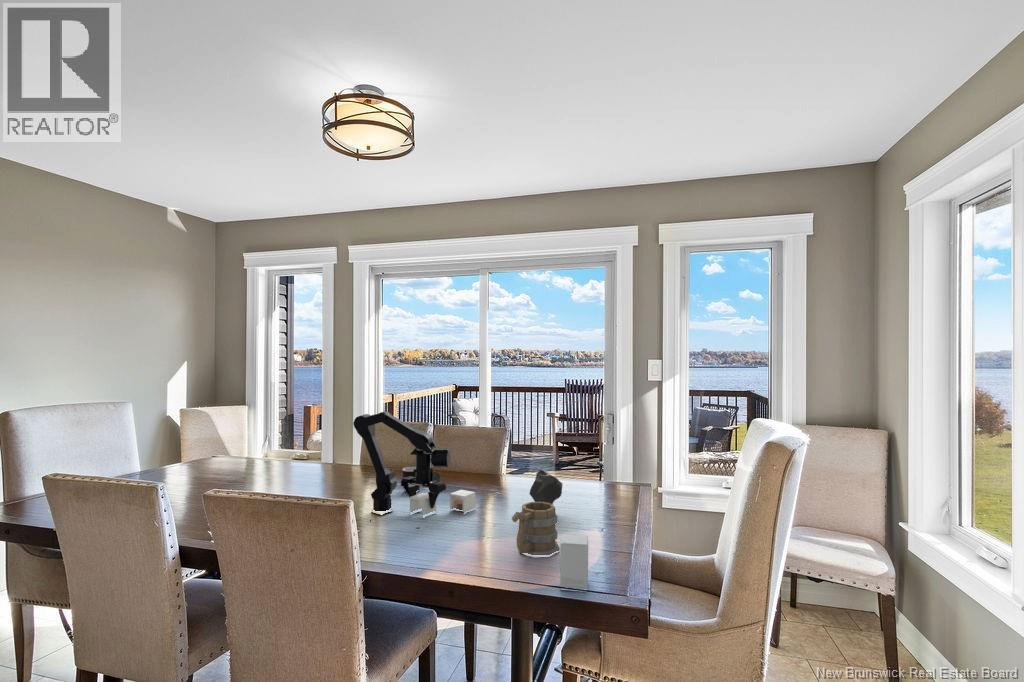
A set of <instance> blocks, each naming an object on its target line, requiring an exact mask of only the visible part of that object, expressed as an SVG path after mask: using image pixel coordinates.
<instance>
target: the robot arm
mask: <svg viewBox="0 0 1024 682" xmlns="http://www.w3.org/2000/svg"><path fill="white" fill-rule="evenodd" d="M381 423H382V424H384V425H385V426H387V427H389V428H390V429H392V430H393V431H395V432H397V433H398V434H401V436H404V438H406V439H407V440H408V441H409V442H410V444H411V445H412V446H414V447H415V448H414V449H413V450H412V451H411V452H410V455H414V456H415V467H416V469H414V472H416V477H412V476H409V477H406V478H403V477H402V478H401V480H400V487H402V488H403V489H404V491H405V490H406V492H407V493H406V494H407V496H408V497H409V498H410V497H411V496H414V495H417V493H416V489H417V487H418V486H420V487H423V488H424V487H425V488H427V489H428V491H427V494H428V495H429V502H430V507H431V509H432V508H434V505H435V502H436V503H437V499H438V497H439V494H441V493H442V492H443V491H445V490H447V483H446V482H444V481H441V476H442V473H440V472H437V471H434V468H433V467H436V468H438V467H440V468H441V467H442V468H449V467H450V465H451V460H452V456H451V454H450V449H449V448H438V446H437V445H436V444H435V442H434V441H433V436H432V434H430V433H428V432H427V431H424V430H420V429H417V428H414V427H412V426H411V425H409V424H407V423H406V422H404V421H403V420H400V419H399V418H397V417H396V416H394V415H392V414H391V413H390V412H388V411H386V410H385V411H380V412H378V413H376V414H369V413H365V414H361V415H359V416H356V417H355V418H354V420H353V423H352V424H353V427H354V429H355V430H356V433H357V434H358V435H359V437H361V438H362V440H363V442H364V444H365V447H366V450H367V452H368V455H369V457H370V462H371V463H372V466H373V469H374V472H375V485H376V489H374V491H372V493H371V494H370V496H371V499H372V501H373V502H372V503H373V505H372V506H373V509H372V511H373V510H375V511H386V510H389V509H390V508H391V509H392V495H391V494H393V491H395V489H396V488H397V486H398V482H397V481H398V478H397V476H396V473H395V470H392V471H391V470H390V469H389V468H388V467H387V464H386V461H385V458H384V456H383V453H382V450H381V447H380V445H379V443H378V440H377V437H376V425H377V424H381ZM432 466H433V467H432Z"/></svg>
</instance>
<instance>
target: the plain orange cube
mask: <svg viewBox="0 0 1024 682" xmlns="http://www.w3.org/2000/svg"><path fill="white" fill-rule="evenodd" d="M456 509H459V510H463V499H460V500H457V501H456Z"/></svg>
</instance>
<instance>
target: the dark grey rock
mask: <svg viewBox="0 0 1024 682" xmlns="http://www.w3.org/2000/svg"><path fill="white" fill-rule="evenodd" d="M562 490H563V482H561V481H560V480H559V479H558V477H556V476H553V475H551V474H550V473H549V472H548V471H547V470H546V469H544V468H541V469H539V471H538V472H536V475H535V479H534V482H533V484H532V485H531V487H530V490H529V496H530V497H531V498H532V499H533V502H546V503H550V504H553V505H554V502H555V501H556V500H559V498H561V496H562V492H563V491H562Z"/></svg>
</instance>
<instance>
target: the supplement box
mask: <svg viewBox="0 0 1024 682" xmlns="http://www.w3.org/2000/svg"><path fill="white" fill-rule="evenodd" d="M560 540H561V541H560V547H559V548H560V552H559V553H560V561H559V563H560V564H559V565H560V566H559V567H560V570H559V574H560V577H559V579H560V580H559V583H560V584H559V585H560V586H559V588H560V587H566V588H575V589H587V590H588V586H589V583H588V580H589V535H585V534H584V535H582V534H566V533H565V534H564V533H563V534H562V535H561V539H560Z"/></svg>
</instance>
